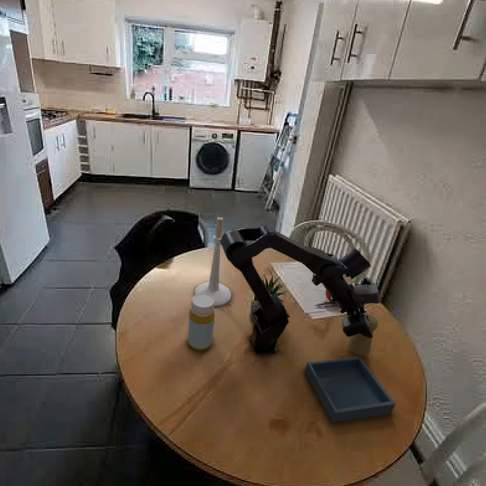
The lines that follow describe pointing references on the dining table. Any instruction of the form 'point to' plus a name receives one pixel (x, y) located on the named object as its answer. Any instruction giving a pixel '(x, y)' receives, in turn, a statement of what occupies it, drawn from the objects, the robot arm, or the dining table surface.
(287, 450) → the dining table surface
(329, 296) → the onion
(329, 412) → the tray
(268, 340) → the robot arm
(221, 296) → the candlestick
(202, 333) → the bottle
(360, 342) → the wooden peg doll
